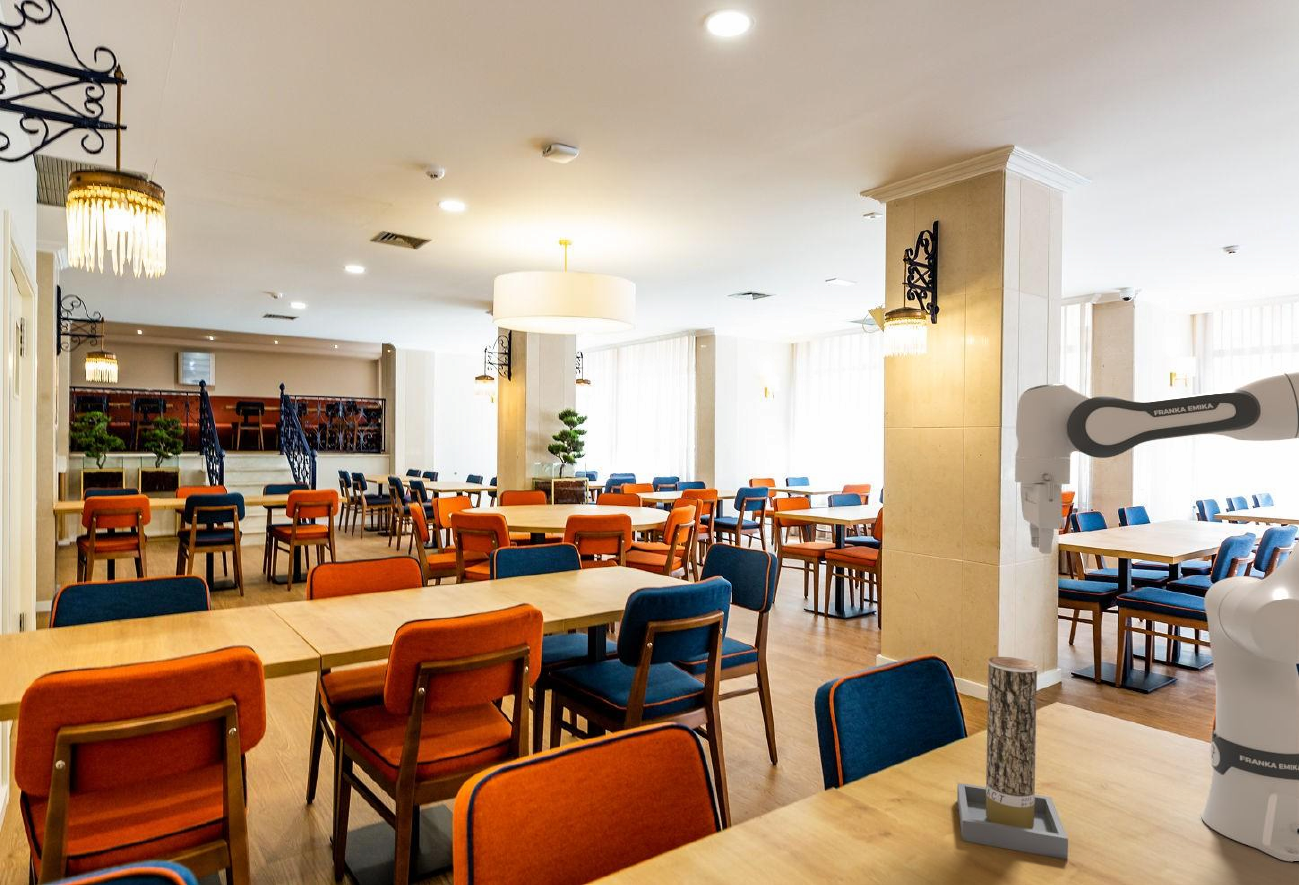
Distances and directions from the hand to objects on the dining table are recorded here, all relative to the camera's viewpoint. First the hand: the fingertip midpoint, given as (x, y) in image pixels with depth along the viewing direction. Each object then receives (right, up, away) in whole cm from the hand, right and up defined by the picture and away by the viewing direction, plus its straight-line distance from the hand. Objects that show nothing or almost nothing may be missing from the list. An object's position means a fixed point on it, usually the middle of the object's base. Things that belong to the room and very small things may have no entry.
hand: (1040, 550), depth 136 cm
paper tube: (-15, -40, -19) cm, 47 cm away
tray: (-15, -41, -19) cm, 47 cm away
